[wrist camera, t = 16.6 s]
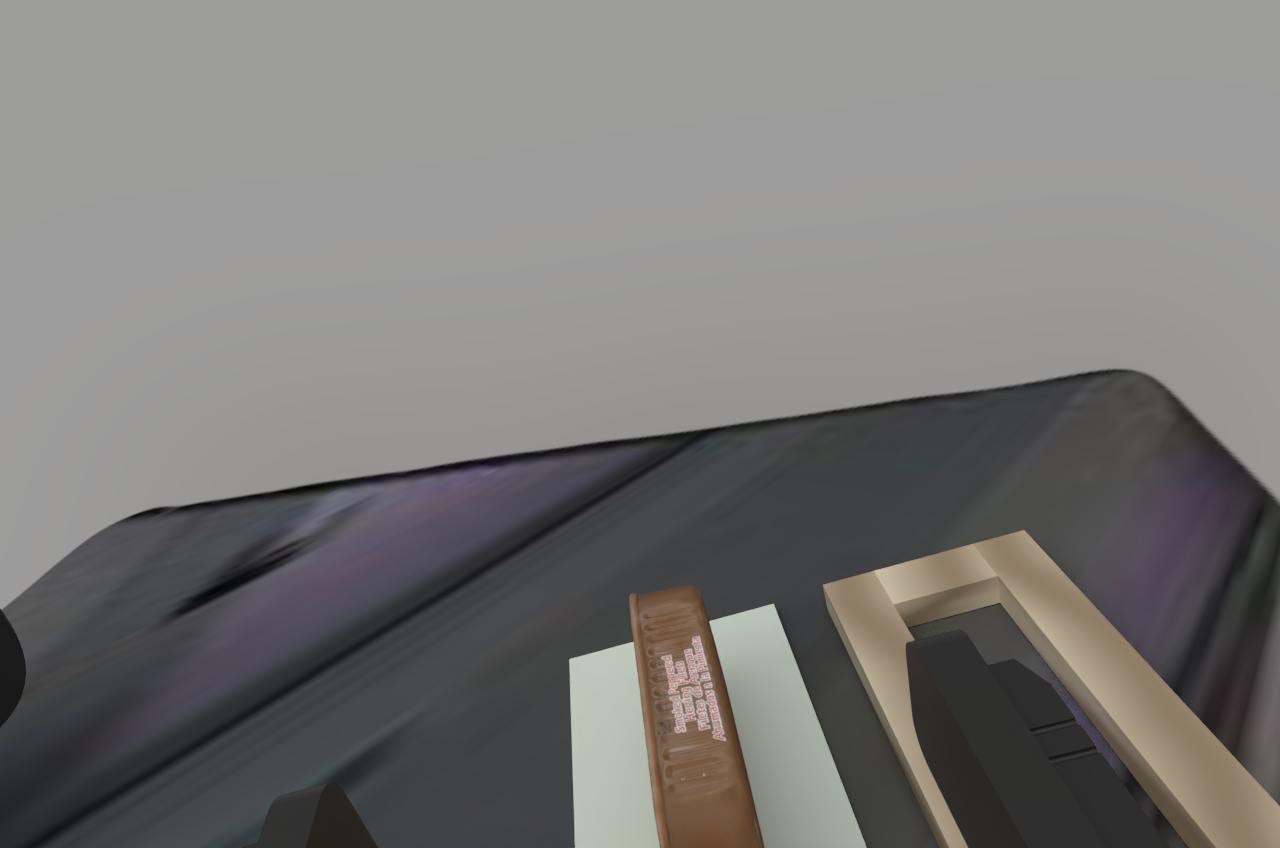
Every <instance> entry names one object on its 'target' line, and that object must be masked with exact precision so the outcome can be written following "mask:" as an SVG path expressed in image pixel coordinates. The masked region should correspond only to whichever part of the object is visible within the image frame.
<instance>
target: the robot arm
mask: <svg viewBox="0 0 1280 848" xmlns="http://www.w3.org/2000/svg"><path fill="white" fill-rule="evenodd" d="M906 661H907V670H908V680H909V689H910V699H911V709H912V718H913V723H914V728H915V732H916V735H917V739H918V742H919V745H920V748H921V751H922V753H923V756H924V758H925V761H926V763H927V765H928V767H929V769H930V771H931V773H932V775H933V777H934V779H935V781H936V783H937V786H938V788H939V790H940V792H941V794H942V796H943V798H944V800H945V802H946V804H947V806H948V808H949V810H950V812H951V814H952V816H953V818H954V820H955V822H956V824H957V826H958V828H959V830H960V832H961V834H962V836H963V838H964V840H965V842H966V844H967V846H968V848H1170V847H1169V846H1168V844H1167V843H1166V842H1165V840H1164V839H1163V837H1162V836H1161V835H1160V833H1159V832H1158V831H1157V829H1156V828H1155V826H1154V825H1153V824H1152V822H1151V821H1150V820H1149V818H1148V817H1147V816H1146V814H1145V813H1144V811H1143V810H1142V809H1141V807H1140V806H1139V805H1138V803H1137V802H1136V800H1135V799H1134V798H1133V796H1132V795H1131V794H1130V792H1129V791H1128V789H1127V788H1126V787H1125V785H1124V784H1123V783H1122V781H1121V780H1120V779H1119V777H1118V776H1117V774H1116V773H1115V772H1114V770H1113V769H1112V768H1111V766H1110V765H1109V763H1108V762H1107V761H1106V759H1105V758H1104V757H1103V755H1102V754H1101V753H1100V754H1099V753H1098V751H1097V749H1096V746H1095V744H1094V743H1093V742H1092V740H1091V739H1090V737H1089V736H1088V735H1087V733H1086V732H1085V731H1084V729H1083V728H1082V727H1081V725H1078V724H1077V722H1076V720H1075V717H1074V716H1073V714H1072V713H1071V711H1070V710H1069V709H1068V707H1067V706H1066V705H1065V703H1064V702H1063V700H1062V699H1061V698H1060V696H1059V695H1058V694H1057V692H1056V691H1055V690H1054V688H1053V687H1052V685H1051V684H1050V683H1048V682H1047V681H1045V680H1044V679H1042V678H1041V677H1039V676H1038V675H1037V674H1035V673H1034V672H1032V671H1031V670H1029V669H1028V668H1026V667H1025V666H1024V665H1022V664H1021V663H1019V662H1018V661H1016V660H1015V659H1012V660H1007V661H1003V662H999V663H995V664H991V665H987V664H986V662H985V661H984V659H983V658H982V656H981V655H980V653H979V652H978V650H977V649H976V647H975V646H974V644H973V643H972V641H971V640H970V638H969V637H968V636H967V634H966V633H965V632H964V631H962V630H955V631H951V632H947V633H943V634H939V635H935V636H931V637H927V638H923V639H919V640H915V641H910V642H907V643H906ZM242 848H378V847H377V845H376V843H375V842H374V840H373V838H372V837H371V835H370V834H369V832H368V830H367V829H366V827H365V825H364V824H363V822H362V820H361V819H360V817H359V815H358V814H357V812H356V811H355V809H354V807H353V806H352V804H351V802H350V801H349V799H348V797H347V796H346V794H345V792H344V791H343V789H342V788H341V787H340V786H339V785H338V784H336V783H328V784H324V785H320V786H316V787H312V788H308V789H303V790H299V791H295V792H291V793H287V794H283V795H280V796H278V797H277V798H276V799H275V800H274V801H273V803H272V804H271V806H270V809H269V811H268V814H267V817H266V820H265V823H264V826H263V829H262V832H261V835H260V838H259V840H258V843H255V844H251V845H247V846H243V847H242Z"/></svg>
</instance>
